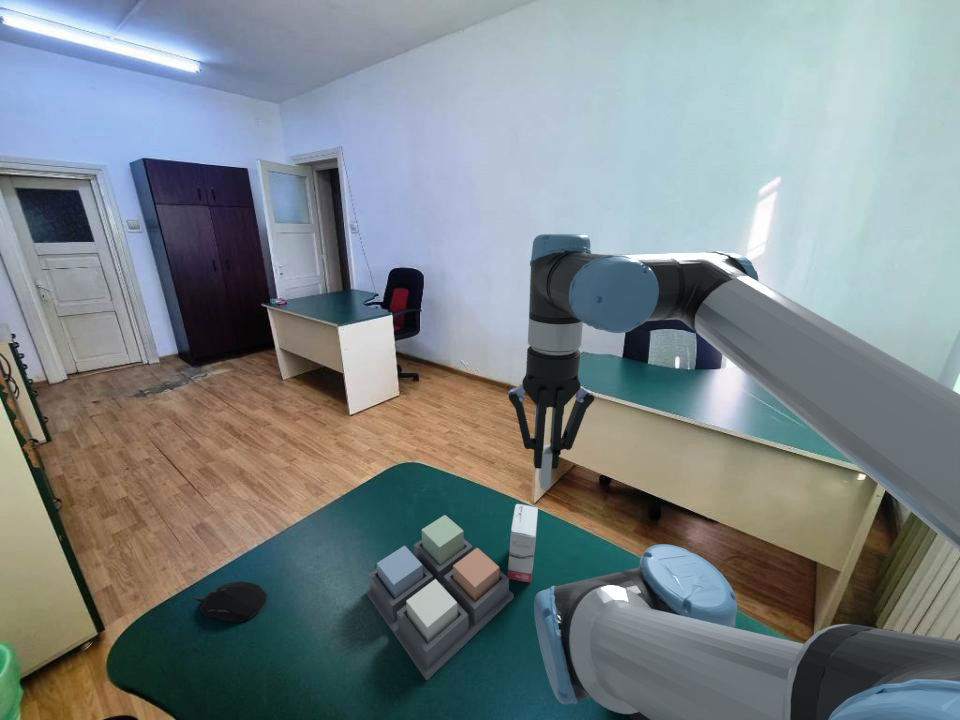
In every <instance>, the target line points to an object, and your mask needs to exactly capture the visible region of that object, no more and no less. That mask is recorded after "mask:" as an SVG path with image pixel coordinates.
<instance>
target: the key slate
mask: <svg viewBox="0 0 960 720" xmlns="http://www.w3.org/2000/svg"><path fill="white" fill-rule="evenodd" d="M408 549H409V548H408V547H407V546H406V545H403V546H401V547H400V548H399V549H397V550H395V551H394V552H392V553H391V554H388V555H387V556H386V557H384V558H383V559H381V560H379V561H378V562H376V569H378V577H379V581H380V582H381V584H382V585H383V586H384V588H385V589H386V590H387V592H388V593H389V594H390V596H391V597H392V598H393V600H395V599H396V598H397V597H399V596H400V595H402V594H403V593H404V592H406V591H407V590H408V589H410V588H411V587H412V586H414V585H415V584H417V583H418V582H419V581H421V580H422V579H423V566H422V564H421V563H420V561H419V560H418V559H417V558H416V557H415V556H414V553H413V552H412V551H410V549H409V550H408Z"/></svg>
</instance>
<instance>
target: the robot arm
mask: <svg viewBox="0 0 960 720" xmlns="http://www.w3.org/2000/svg"><path fill="white" fill-rule="evenodd" d="M530 258H531V259H530V261H529V266H530V275H529V276H530V279H529V302H528V303H529V305H528V306H529V307H528V308H529V309H528V327H527V328H528V330H527V344H528V345H529V346H528V348H527V350H526V368H525V370H526V371H525V374H524V375H525V376H523V379H522V383H521V384H520V385H518V386H516V387H514V386H513V387H509V388H508V390H507V392H508V399H509V401H510V403H511V404H512V406H513V407H514V408H515V412H516V417H517V421H518V426H519V430H520V434H521V439H522V443H523V447H524V449H526V450H532V451H533V461H532V462H533V466H534V469H538V470H539V471H538V481H539V487H540V489H541V490H543V489H544V490H546V489H548V490H549V489H551V478H552V477H551V476H552V470H554V469H555V470H556V469H558V467H559V461H560V460H559V459H560V456H561V453H562V451H564V450H566V451H570V450H571V449H573V445H574V443H575V441H576V438H577V435H578V432H579V431H580V430H579V429H580V427H581V425H582V422H583V419H584V416H585V414H586V412H587V409H588V408H589V407H590V406H591V405H592V403H593V402H594V401H595V399H596V397H595V395H594V393H593V392H592V391H591V389H590V388H588V387H587V388H585V387H584V386H582V385H581V381H580V379H579V371H580V370H579V368H580V360H581V359H580V358H581V352H580V350H579V349H580V347H582V340H583V339H582V338H583V329H584V328H583V326H584V325H583V324H586V325H587V326H588V327H592V328H594V329H596V330H599V331H605V332H608V333H613V334H623V333H624V334H625V333H628V332H631V331H632V330H634V329H636V328H638V327H639V326H641V325H643V324H645V323H646V322H653V321H668V320H670V321H671V320H673V321H674V320H679V321H681V322H683V323H684V324H685V325H686V326H687V327H689V328H690V329H691V330H692V331H694V332H695V333H696V334H697V335H698V336H700V337H701V338H702V339H704V340H705V341H706V342H707V343H708V344H709V345H711V346H712V347H713V348H714V349H715V350H716V351H718V352H719V353H721V354H722V356H724V357H725V358H727V359H728V360H729V361H730V362H731V363H733V365H735V366H736V367H738V368H739V369H740V370H741V371H742V372H743V373H744V374H746V375H747V376H748V377H749V378H751V379H752V380H753V381H754V382H755V383H756V384H758V385H759V387H761V388H763V390H764V391H766V392H767V393H768V394H770V395H771V396H772V397H773V398H775V399H776V400H777V401H778V402H780V404H782V405H783V406H784V407H785V408H787V409H788V410H789V411H790V412H791V413H793V414H794V415H795V416H796V417H797V418H798V419H800V420H801V422H803V423H805V424H806V425H807V426H808V427H809V428H811V430H813V431H814V432H815V433H816V434H818V435H819V436H820V437H821V438H822V439H824V440H825V441H826V442H827V443H828V444H830V445H831V446H832V447H833V448H834V449H836V450H837V451H838V452H840V453H841V454H842V456H844V457H845V458H847V459H848V460H849V461H850V462H851V463H852V464H854V466H856V467H857V468H859V469H860V470H861V471H862V472H863V473H865V474H866V475H867V476H868V477H870V478H871V479H872V480H873V481H874V482H876V483H877V485H879V486H880V487H881V488H883V490H885V491H886V492H887V493H888V494H890V495H891V496H892V497H894V498H895V500H897V501H898V502H900V503H901V504H902V505H903V506H904V507H905V508H907V509H908V510H909V511H910V512H911V513H912V514H914V515H915V516H916V517H918V518H919V519H920V520H921V521H922V522H923V523H925V524H926V525H927V526H928V527H930V529H931V530H933V531H934V532H935V533H936V534H938V535H939V536H940V537H942V539H944V540H945V541H946V542H947V543H949V544H950V545H951V546H952V547H953V548H954V549H956V550H957V551H958V552H959V553H960V393H958V392H956V390H953V389H951V388H949V387H947V386H946V385H944V384H942V383H941V382H939V381H937V380H934V379H933V378H931V377H930V376H929V375H926V374H925V373H923V372H921V371H919V370H917V369H916V368H914V367H912V366H910V365H908V364H906V363H905V362H903V361H901V360H899V359H898V358H896V357H894V356H892V355H891V354H889V353H887V352H885V351H884V350H881V349H880V348H879V347H876V346H875V345H872V344H870V343H869V342H867V341H865V340H864V339H862V338H860V337H859V336H857V335H855V334H853V333H851V332H850V331H847V330H846V329H844V328H842V327H840V326H838V325H836V324H835V323H833V322H832V321H830V320H828V319H826V318H824V317H822V316H820V315H819V314H817V313H816V312H813V311H812V310H810V309H808V308H806V307H804V306H803V305H801V304H800V303H798V302H796V301H794V300H792V299H791V298H789V297H788V296H785V295H784V294H782V293H780V292H778V291H776V290H774V289H772V288H771V287H769V286H767V285H766V284H764V283H762V282H760V280H759V274H758V272H757V270H756V269H755V268H754V265H753V263H752V261H750V259H749V258H747V257H745V256H743V255H742V254H738V253H731V252H728V253H727V252H722V251H705V252H683V253H681V252H680V253H648V254H647V253H641V254H640V253H638V254H635V253H634V254H633V253H632V254H631V253H630V254H629V253H628V254H600V253H599V254H597V253H592V251H591V239H590V237H589V236H588V235H586V234H582V233H545V234H544V233H543V234H537V235H536V237H535V238H534V239H533V241H532V248H531V257H530ZM525 393H526V395H528V397H529V398H530V399H531V401H532V402H533V404H534V405H535V416H534V418H535V420H534V437H531V433H530V429H529V425H528V420H527V416H526V412H525V406H524V401H525V397H526V396H525ZM574 396H575V401H574V403H573V407H572V408H571V411H570V413H569V417H568V419H567V422H566V425H565V427H564V430H563V420H564V414H565V406H566V405H567V404H568V403H569V402H570V401H571V400H572V398H574ZM548 408H552V409H551V410H552V411H551V423H550V425H551V426H550V437H549V441H550V442H549V443H550V444H544V443H545V431H546V430H545V429H546V419H547V418H546V416H547V411H548V410H547V409H548ZM562 430H563V431H562ZM562 432H563V433H562ZM533 613H534V620H535V621H534V623H535V627H536V633H537V638H538V645H539V649H540V653H541V656H542V660H543V665H544V669H545V673H546V676H547V677H548V678H547V679H548V682H549V684H550V687H551V689H552V692H553V695H554V696H555V699H557V701H558V702H559V703H560V704H563V705H570V704H574V705H578V704H580V702H581V700H585V699H592V700H594V701H595V702H596V703H597V704H599V705H600V706H602V707H603V708H606V709H608V710H609V711H612V712H613V713H618V714H622V715H627V716H628V717H629V718H630V719H631V720H960V640H957V639H949V638H944V637H942V638H941V637H938V636H930V635H923V634H918V633H910V632H905V631H904V632H903V631H897V630H892V629H886V628H881V627H873V626H867V625H863V624H862V625H861V624H852V623H851V624H850V623H844V624H843V623H841V624H834V625H831V626H827V627H823V628H822V629H821V630H820V629H819V631H817V632H815V633H814V634H813V635H812V636H810V638H809V639H807V641H806V642H805V643H801V642H798V641H793V640H788V639H784V638H780V637H775V636H772V635H767V634H762V633H757V632H753V631H750V630H745V629H740V628H736V617H737V613H738V604H737V598H736V595H735V592H734V589H733V588H732V586H731V584H730V583H729V582H728V580H727V579H726V577H724V575H723V574H722V573H721V572H720V570H718V569H717V568H716V567H715V566H714V565H713V564H711V563H710V562H709V561H708V560H706V559H705V558H703V556H702V557H701V556H700V555H698V554H697V553H694V552H691V551H690V550H688V549H686V548H684V547H681V546H676V545H673V544H664V543H663V544H655V545H652V546H650V547H648V548H647V549H645V551H644V553H643V554H642V555H641V558H640V559H639V566H638V567H635V568H631V569H627V570H623V571H619V572H613V573H609V574H605V575H600V576H595V577H591V578H585V579H582V580H579V581H574V582H573V581H572V582H570V583H566V584H561V585H552V586H550V587H549V588H546V589H543V590H540V591H538V592H537V593H536V595H535V597H534V600H533Z"/></svg>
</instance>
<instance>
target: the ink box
mask: <svg viewBox="0 0 960 720" xmlns="http://www.w3.org/2000/svg"><path fill="white" fill-rule="evenodd" d="M538 512H539V507H538V506H533V505H531V504H524V503H516V504H515V505H514V511H513V516H512V522H511V527H510V541H509V552H508V554H509V555H508V566H507V577H508V578H509V580H514V581H519V582H525V583H532V577H533V575H532V574H533V569H534V559H535V550H536V541H537V526H538V515H539V514H538Z"/></svg>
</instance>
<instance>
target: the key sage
mask: <svg viewBox="0 0 960 720" xmlns="http://www.w3.org/2000/svg"><path fill="white" fill-rule="evenodd" d="M464 535H465V533H464V530H463V528H461V527H460V526H459V525H458V524H456V523H455V521H453V520H452V519H450V517H448V516H447V515H445V514H444V515H443V516H441V517H438V519H436V520H435V521H433V522H431V523H430V524H428V525H426V526H425V527H423V528H422V529H421V540H422V545H423V550H424V551H425V552H426V553H427V554H428V555H429V556H430V557H431V558H432V559H433V560H434V561H435V562H436V563H437V564H438V565H439V566H441V565H443V564H444V563H445V562H447V561H448V560H449V559H451V558H452V557H453V556H455V555H456V554H458V553H459V552H460V551H462V550H463V549H464V539H465V538H464Z"/></svg>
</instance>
